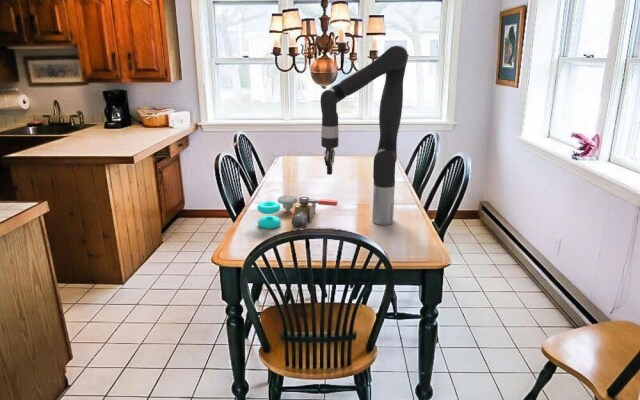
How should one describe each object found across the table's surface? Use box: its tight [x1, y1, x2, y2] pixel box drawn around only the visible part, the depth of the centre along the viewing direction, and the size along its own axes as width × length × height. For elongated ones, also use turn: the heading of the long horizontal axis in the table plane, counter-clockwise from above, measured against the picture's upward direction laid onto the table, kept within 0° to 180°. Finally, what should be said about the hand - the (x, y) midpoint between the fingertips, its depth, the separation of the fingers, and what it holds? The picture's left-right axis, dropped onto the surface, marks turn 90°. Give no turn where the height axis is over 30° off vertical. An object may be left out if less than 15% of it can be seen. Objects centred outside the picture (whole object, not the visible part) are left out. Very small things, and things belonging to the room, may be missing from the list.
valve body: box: [291, 201, 317, 229], centre depth 212 cm, size 7×22×8 cm, turn 168°
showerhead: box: [277, 194, 299, 213], centre depth 223 cm, size 9×7×10 cm
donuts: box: [256, 200, 282, 230], centre depth 205 cm, size 10×10×10 cm
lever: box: [298, 196, 339, 207], centre depth 209 cm, size 17×4×2 cm, turn 78°
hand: (329, 174), depth 210 cm, fingers closed
